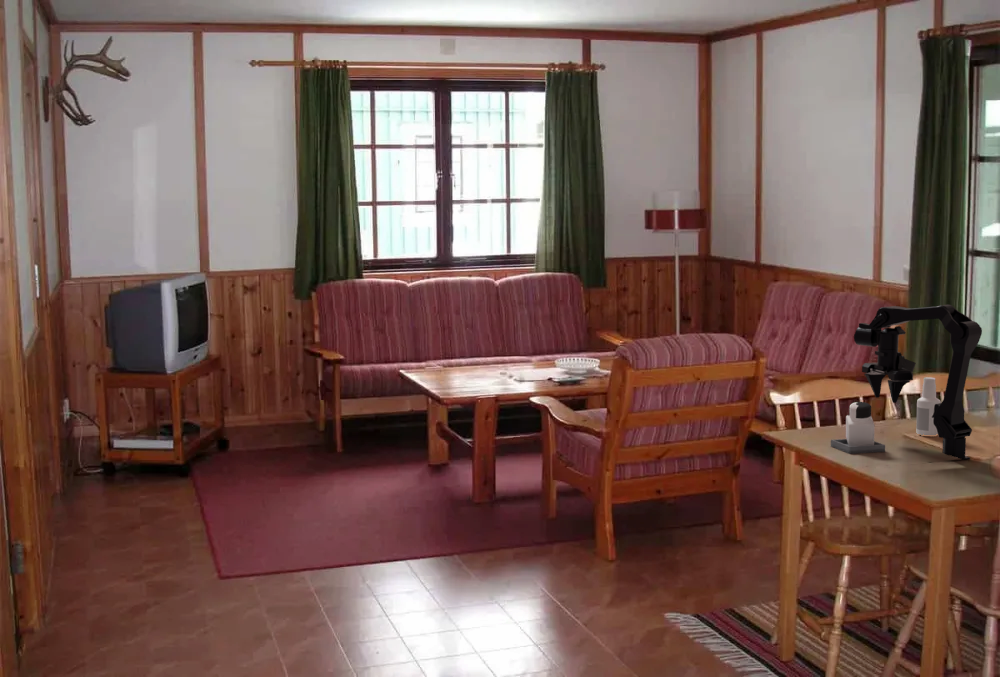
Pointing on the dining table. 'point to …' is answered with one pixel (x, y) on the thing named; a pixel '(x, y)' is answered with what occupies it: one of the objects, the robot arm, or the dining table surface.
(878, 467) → the dining table surface
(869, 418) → the medicine bottle
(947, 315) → the robot arm
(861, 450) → the tray
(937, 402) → the spray bottle
